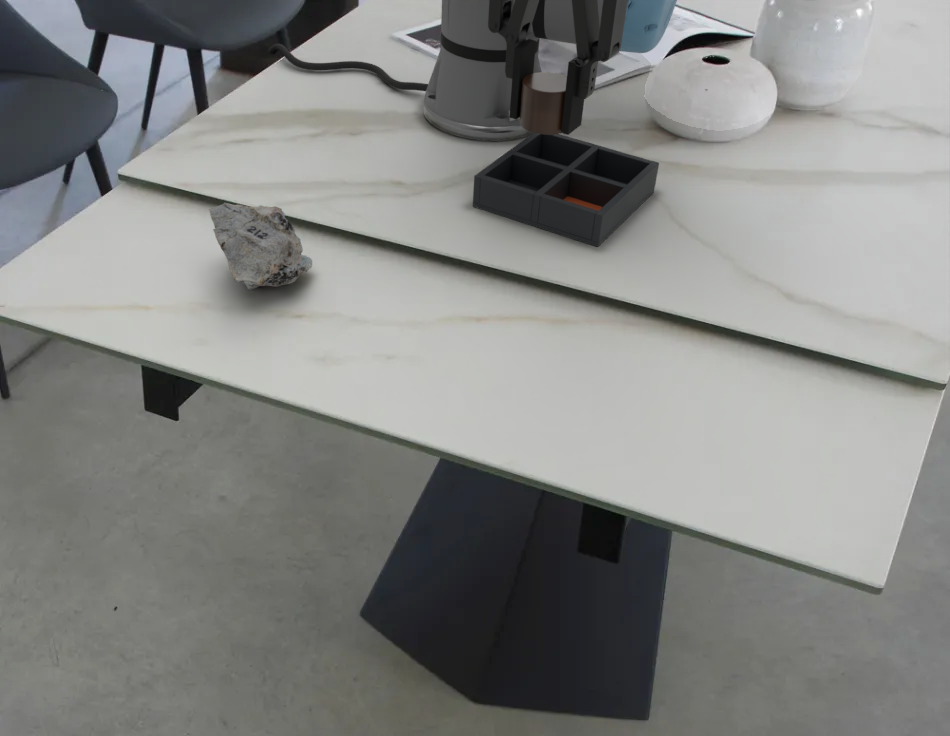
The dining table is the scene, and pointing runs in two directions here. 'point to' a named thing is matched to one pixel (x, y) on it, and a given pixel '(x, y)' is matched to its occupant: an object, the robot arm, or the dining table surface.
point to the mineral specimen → (259, 245)
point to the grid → (565, 186)
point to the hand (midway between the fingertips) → (545, 120)
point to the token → (543, 102)
